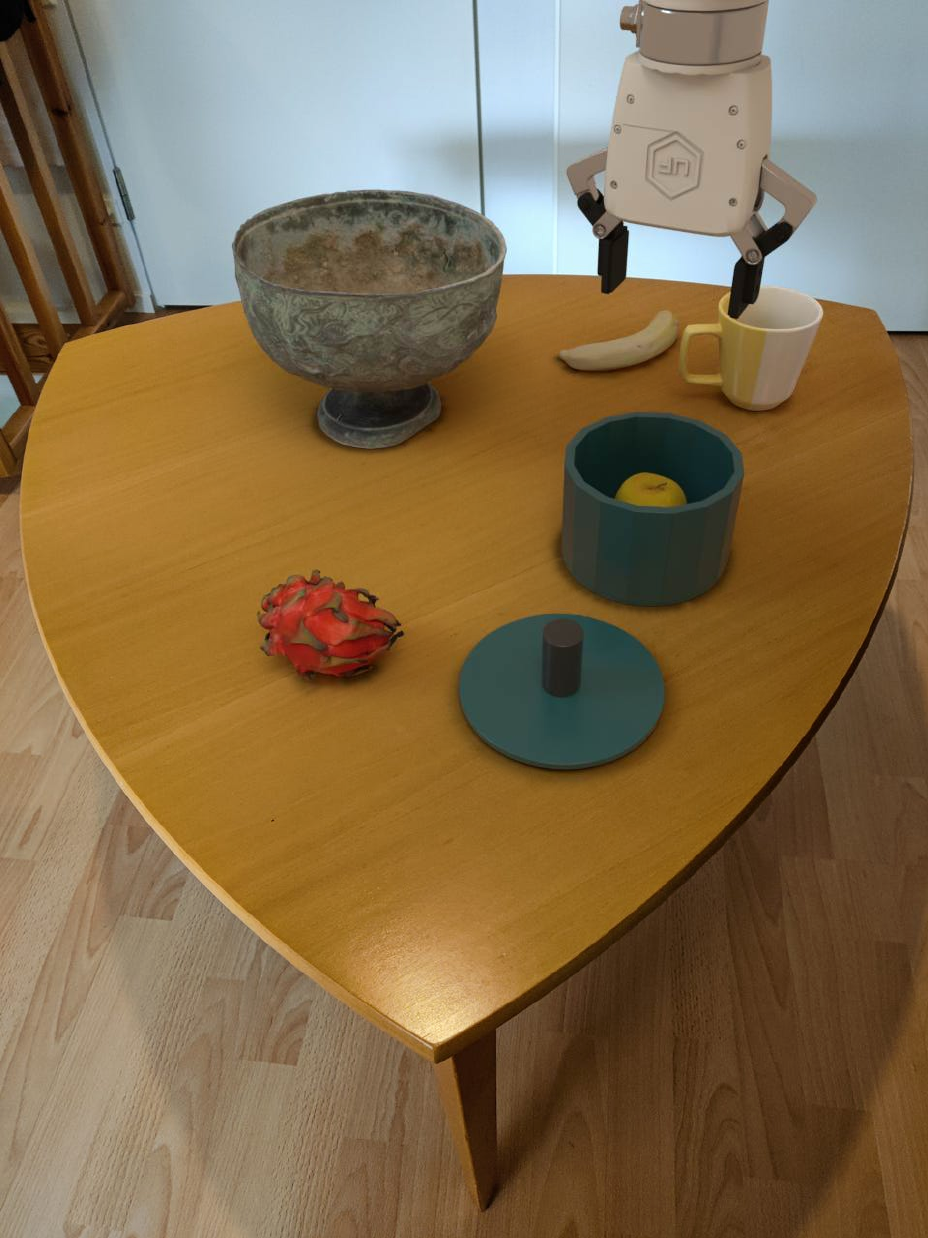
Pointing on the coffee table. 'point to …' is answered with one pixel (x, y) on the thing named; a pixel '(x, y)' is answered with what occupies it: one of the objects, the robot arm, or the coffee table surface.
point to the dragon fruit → (325, 626)
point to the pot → (649, 508)
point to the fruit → (625, 347)
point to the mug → (759, 347)
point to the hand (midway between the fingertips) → (674, 298)
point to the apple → (651, 491)
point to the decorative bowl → (370, 301)
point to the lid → (561, 691)
